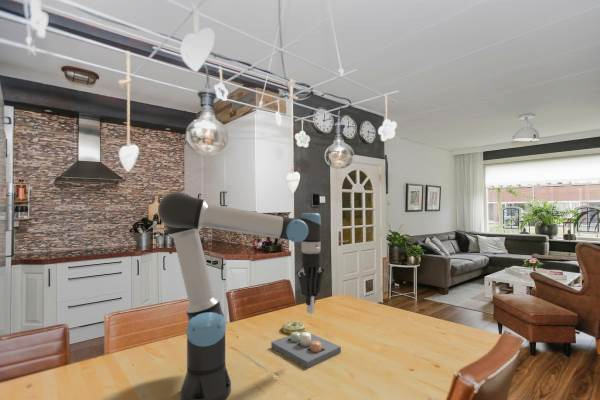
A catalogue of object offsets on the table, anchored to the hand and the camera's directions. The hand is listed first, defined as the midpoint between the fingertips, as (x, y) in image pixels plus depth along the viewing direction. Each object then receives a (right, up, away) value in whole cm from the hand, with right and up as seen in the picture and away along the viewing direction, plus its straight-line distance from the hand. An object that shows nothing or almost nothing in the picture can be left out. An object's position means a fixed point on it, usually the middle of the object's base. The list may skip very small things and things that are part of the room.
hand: (310, 312), depth 121 cm
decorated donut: (-7, -18, +25) cm, 32 cm away
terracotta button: (+2, -16, 0) cm, 16 cm away
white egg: (-2, -14, +4) cm, 15 cm away
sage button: (-6, -16, +9) cm, 19 cm away
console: (-2, -17, +4) cm, 18 cm away
